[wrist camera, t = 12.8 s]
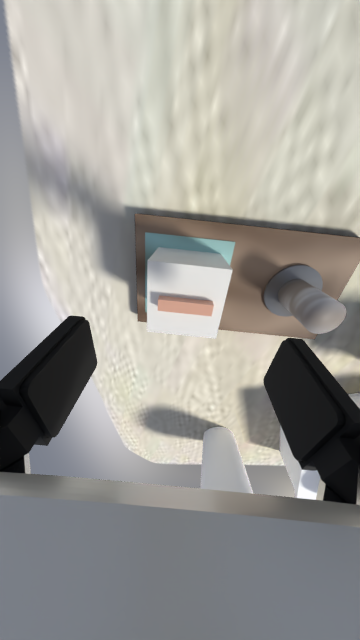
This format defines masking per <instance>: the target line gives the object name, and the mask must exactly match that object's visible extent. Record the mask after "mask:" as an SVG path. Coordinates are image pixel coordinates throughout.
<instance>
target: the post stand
mask: <svg viewBox="0 0 360 640" xmlns="http://www.w3.org/2000/svg"><path fill="white" fill-rule="evenodd" d="M135 239H136V275H137V310H138V321H140V322H147V260H148V259H149V258H150V257H151V256H152V255H153V253H154V252H155V251H156V250H157V249H158V247H163V248H173V249H182V250H191V251H200V252H209V253H218V254H221V255H222V256H223V257H224V259H225V260H226V261H227V263H228V264H229V265H230V267H231V268H232V269H233V271H232V275H231V279H230V283H229V287H228V291H227V295H226V299H225V304H224V308H223V312H222V316H221V320H220V324H219V328H218V329H219V330H229V331H238V332H248V333H258V334H268V335H278V336H288V337H298V338H307V339H315V338H316V336H317V334H322V333H327V332H329V331H332V330H334V329H335V328H337V327H338V326H339V325H340V324H341V323H342V322H343V320H344V319H345V316H346V308H345V306H344V305H343V304H342V303H340V302H339V301H337V300H338V298H339V296H340V295H341V293H342V291H343V289H344V288H345V286H346V284H347V283H348V281H349V279H350V277H351V276H352V274H353V272H354V270H355V269H356V267H357V265H358V264H359V262H360V238H359V237H350V236H341V235H331V234H322V233H313V232H304V231H294V230H285V229H276V228H267V227H257V226H248V225H239V224H230V223H220V222H211V221H202V220H193V219H183V218H174V217H165V216H156V215H146V214H135Z"/></svg>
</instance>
